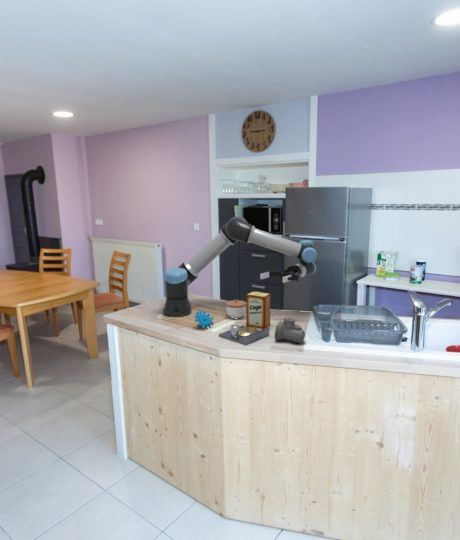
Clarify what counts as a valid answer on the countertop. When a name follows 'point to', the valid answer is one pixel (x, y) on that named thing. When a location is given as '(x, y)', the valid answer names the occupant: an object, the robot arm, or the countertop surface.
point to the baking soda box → (258, 310)
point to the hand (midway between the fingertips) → (271, 278)
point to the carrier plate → (245, 334)
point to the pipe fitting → (289, 331)
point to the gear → (204, 319)
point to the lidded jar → (236, 308)
